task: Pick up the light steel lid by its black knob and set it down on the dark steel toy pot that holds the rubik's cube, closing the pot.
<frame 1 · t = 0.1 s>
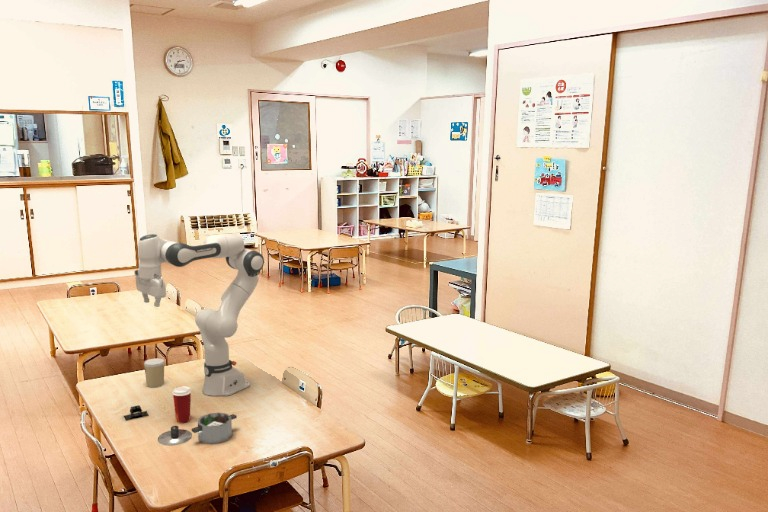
hand: (151, 304, 254), 48 cm above the table, fingers open, 8 cm apart
paper cup: (182, 420, 252), on the table
coffee cup: (155, 385, 289), on the table
pot: (215, 435, 239), on the table
lid: (175, 438, 237), on the table
black stepped block: (136, 417, 255), on the table
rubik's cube: (215, 436, 239), resting in pot
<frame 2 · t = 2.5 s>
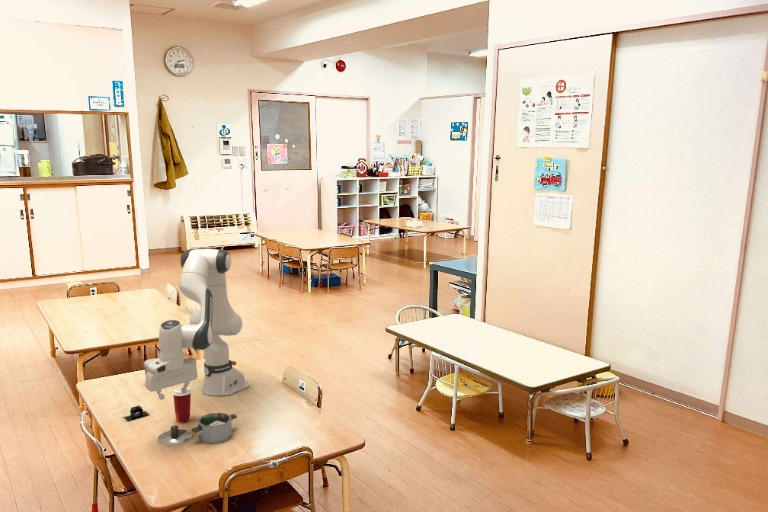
hand: (173, 395, 233), 18 cm above the table, fingers open, 8 cm apart
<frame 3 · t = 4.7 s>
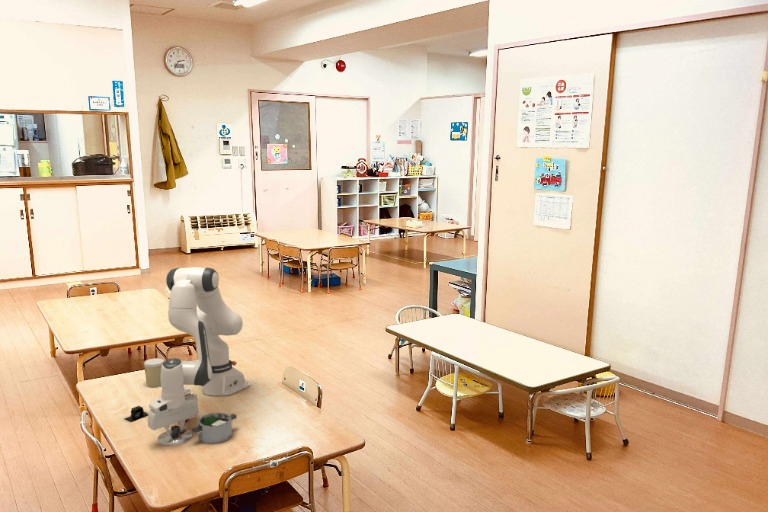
hand: (174, 432, 236), 2 cm above the table, fingers closed on lid, 3 cm apart
lid: (175, 438, 237), on the table, touching gripper
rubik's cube: (220, 435, 240), resting in pot
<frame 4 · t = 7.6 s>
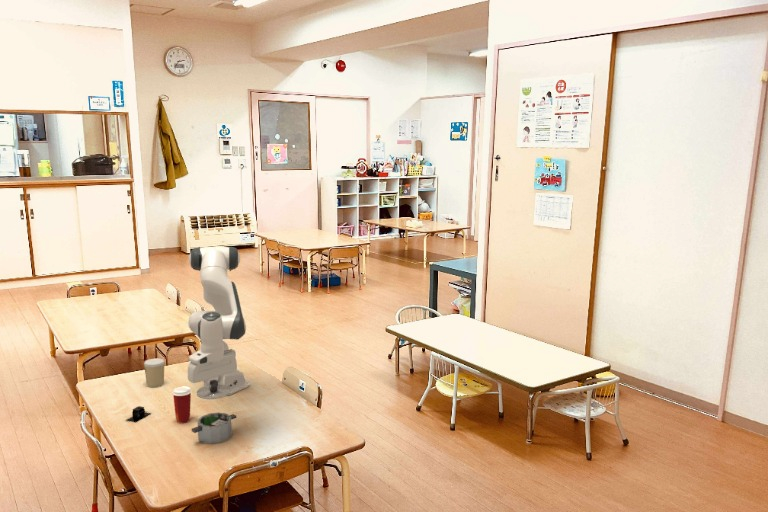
hand: (213, 387, 235), 21 cm above the table, fingers closed on lid, 3 cm apart
lid: (213, 392, 235), point 19 cm above the table, touching gripper
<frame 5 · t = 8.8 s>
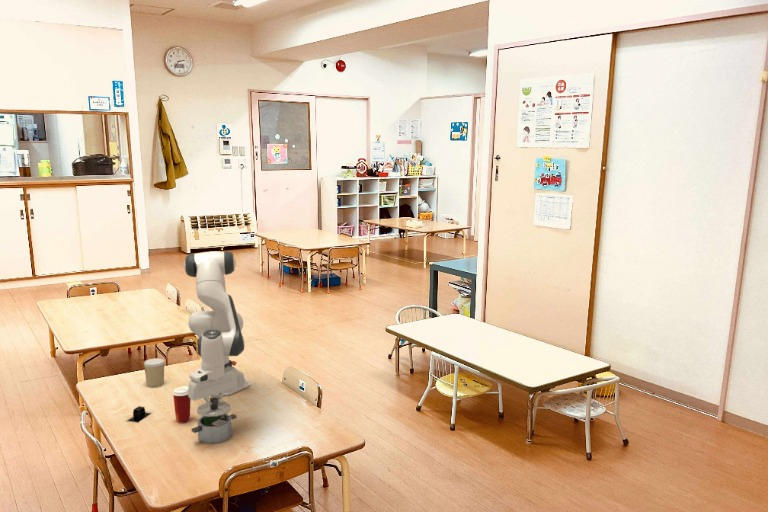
hand: (213, 404, 236), 14 cm above the table, fingers closed on lid, 3 cm apart
lid: (214, 409, 236), point 11 cm above the table, touching gripper
when the fingers open (11 cm above the table, at t = 10.1 s): lid drops 1 cm, resting on pot.
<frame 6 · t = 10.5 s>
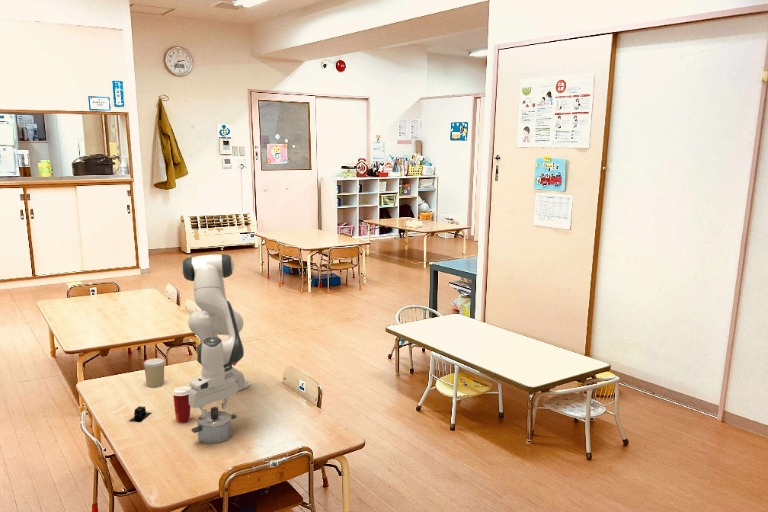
hand: (214, 411, 237), 11 cm above the table, fingers open, 8 cm apart
lid: (214, 419, 237), point 7 cm above the table, touching pot
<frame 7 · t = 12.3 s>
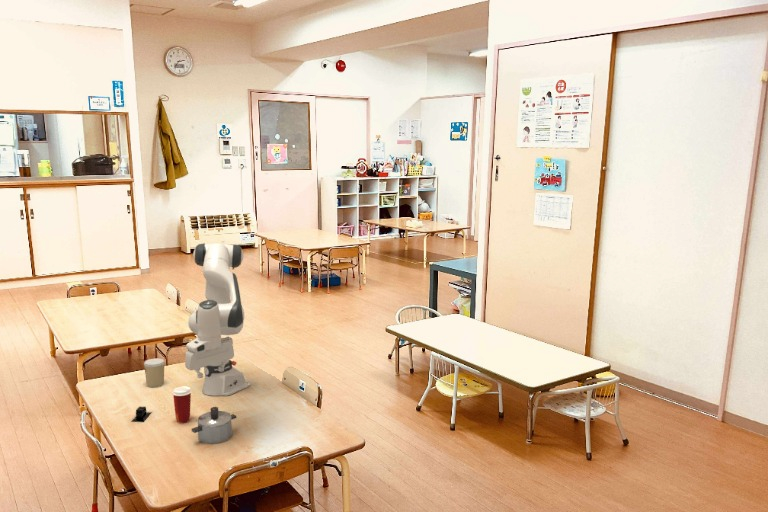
hand: (211, 374, 237), 25 cm above the table, fingers open, 8 cm apart
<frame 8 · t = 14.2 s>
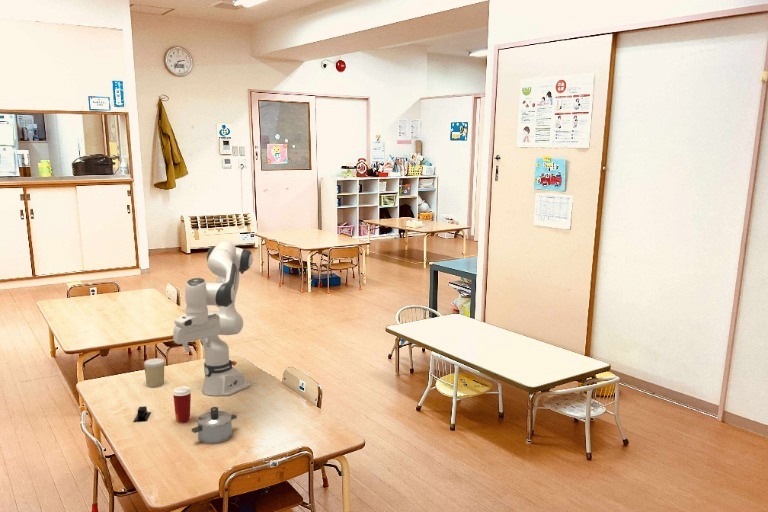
hand: (198, 349, 248), 31 cm above the table, fingers open, 8 cm apart
at the end: lid 0.0 cm off-centre on the pot, point 7.0 cm above the pot's base; lid tilted 0°; the gripper is holding nothing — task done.
